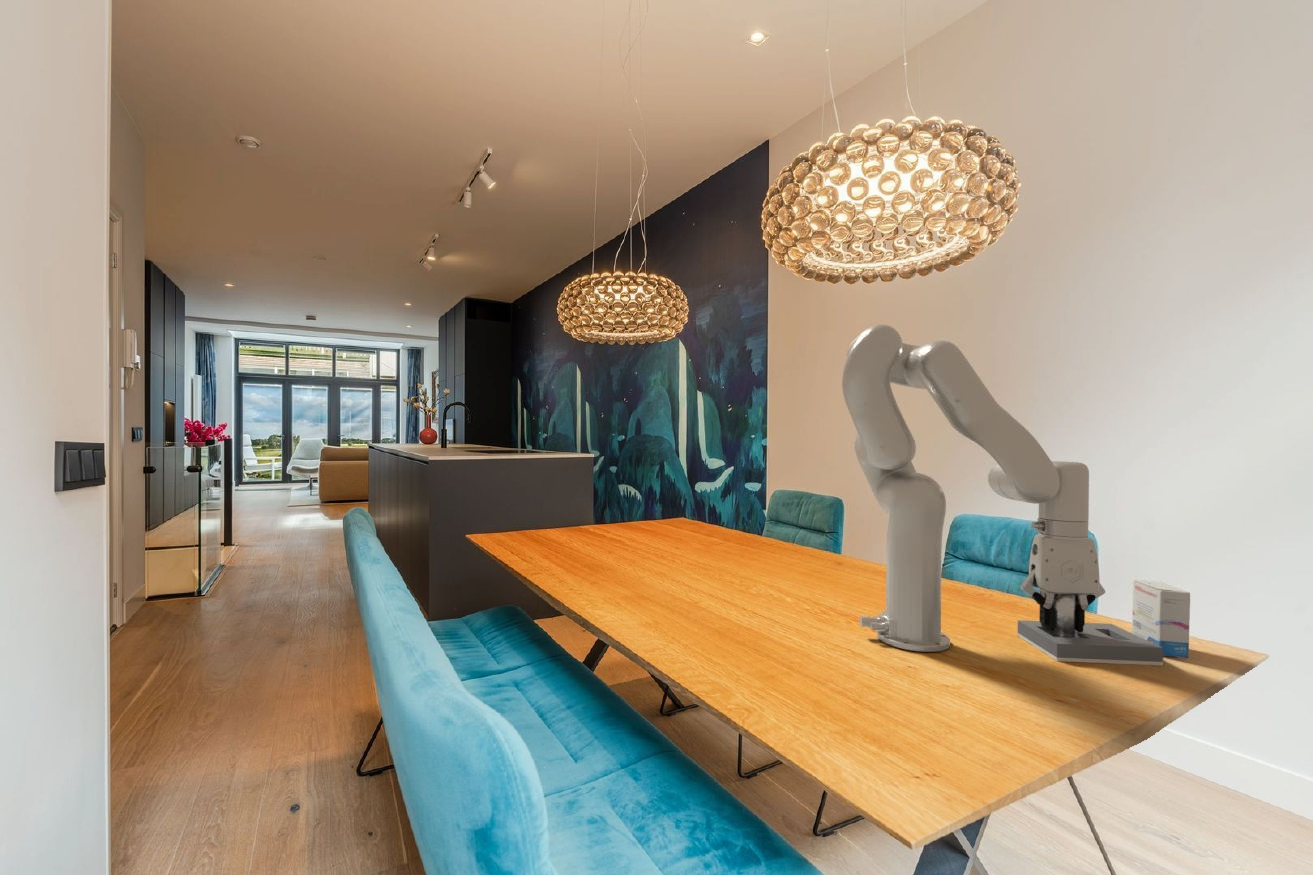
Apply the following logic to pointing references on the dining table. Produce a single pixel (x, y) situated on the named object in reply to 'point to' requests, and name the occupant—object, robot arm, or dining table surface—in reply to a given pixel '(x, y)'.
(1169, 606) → the ink box
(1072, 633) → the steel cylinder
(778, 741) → the dining table surface
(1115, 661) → the socket board
